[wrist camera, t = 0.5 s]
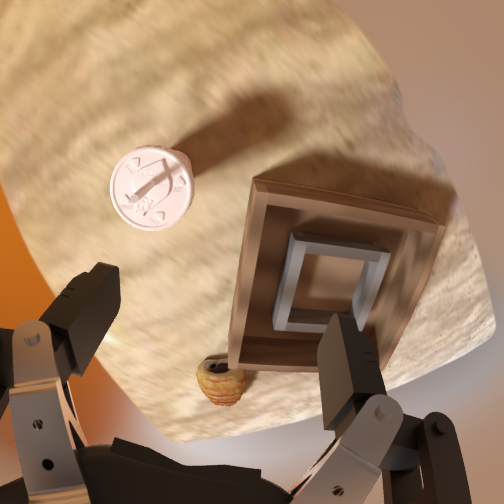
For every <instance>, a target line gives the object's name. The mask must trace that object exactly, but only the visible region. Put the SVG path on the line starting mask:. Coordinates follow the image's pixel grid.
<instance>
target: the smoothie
mask: <svg viewBox="0 0 504 504" xmlns="http://www.w3.org/2000/svg"><path fill="white" fill-rule="evenodd" d="M194 187H195V183H194V178H193V174H192V165H191V161H190V159H189V158H188V156H187V155H186V154H184V153H183V152H181V151H177V150H172V149H170V148H168V147H164V146H161V145H146V146H142V147H138V148H136V149H134V150H133V151H131V152H129V153H128V154H126V155H125V156H124V157H123V158H122V159H121V160H120V161H119V162H118V164H117V165H116V167H115V169H114V171H113V173H112V177H111V181H110V194H111V199H112V202H113V205H114V207H115V209H116V210H117V212H118V213H119V215H120V216H121V217H122V218H123V219H124V220H125V221H126V222H128V223H129V224H131V225H132V226H134V227H136V228H139V229H142V230H148V231H157V230H162V229H166V228H168V227H170V226H172V225H174V224H175V223H177V222H178V221H179V220H180V219H181V218H182V217H183V216H184V215H185V213H186V212H187V210H188V209H189V207H190V206H191V203H192V200H193V197H194Z"/></svg>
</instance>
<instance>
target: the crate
mask: <svg viewBox="0 0 504 504" xmlns="http://www.w3.org/2000/svg"><path fill="white" fill-rule="evenodd" d="M445 228H446V226H444V225H442V224H441V223H439V222H438V221H436V220H435V219H433V218H431V217H430V216H428V215H427V214H425V213H423V212H422V211H420V210H418V209H415V208H411V207H407V206H403V205H398V204H394V203H390V202H385V201H381V200H376V199H371V198H366V197H362V196H357V195H352V194H347V193H342V192H336V191H331V190H326V189H320V188H315V187H309V186H303V185H297V184H291V183H285V182H279V181H272V180H266V179H259V178H252V184H251V190H250V197H249V203H248V209H247V215H246V222H245V228H244V235H243V241H242V247H241V254H240V260H239V267H238V273H237V280H236V287H235V293H234V300H233V307H232V313H231V320H230V327H229V333H228V368H229V369H242V370H257V371H276V372H319V371H318V362H317V350H318V346H319V343H320V341H321V339H322V336H323V334H324V332H325V330H326V328H327V326H328V324H329V322H330V320H331V318H332V316H333V315H334V314H335V313H336V314H342V315H348V316H354V317H355V319H356V322H357V326H358V329H359V331H363V332H365V333H366V335H367V336H368V337H369V339H370V340H371V341H372V344H373V347H374V350H375V355H376V357H377V360H378V363H377V364H379V367H380V371H383V370H384V369H385V367H386V365H387V363H388V361H389V359H390V358H391V356H392V354H393V352H394V350H395V348H396V346H397V344H398V342H399V340H400V338H401V336H402V334H403V332H404V330H405V328H406V326H407V324H408V322H409V319H410V317H411V315H412V313H413V311H414V309H415V306H416V304H417V302H418V299H419V297H420V295H421V292H422V290H423V288H424V285H425V283H426V280H427V278H428V275H429V273H430V270H431V268H432V265H433V262H434V260H435V257H436V254H437V251H438V248H439V246H440V243H441V240H442V237H443V234H444V231H445Z"/></svg>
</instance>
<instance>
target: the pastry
mask: <svg viewBox="0 0 504 504" xmlns="http://www.w3.org/2000/svg"><path fill="white" fill-rule="evenodd" d="M196 375H197V379H198V383H199V386H200V388H201V390H202V392H203V393H204V394H205V395H206V396H207V397H208V398H209V399H210V401H211V402H213V403H214V404H215V405H222V406H224V405H225V406H232V405H234V404H235V403H237V401H238V400H240V398H241V395H242V393H243V390H244V388H245V385H246V382H245V374H244V370H242V369H229V368H228V358H223V359H219V360H205V361H203V362H202V363H201V364H200V365H199V366H198V370H197V373H196Z"/></svg>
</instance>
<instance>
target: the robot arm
mask: <svg viewBox="0 0 504 504" xmlns="http://www.w3.org/2000/svg"><path fill="white" fill-rule="evenodd" d="M120 303H121V295H120V277H119V268H118V267H117V266H114V265H110V264H106V263H102V262H98V263H97V264H96V265H95V266H94V267H93V269H92V270H91V271H90V272H89V273H87V272H83V273H81V274H80V275H78V276H76V277H74V278H73V279H72V280H71V281H70V282H69V284H68V285H67V286H66V288H64V289H63V291H62V292H61V293H60V295H58V297H57V298H56V299H55V300H54V301H53V303H52V304H51V305H50V306H49V308H48V309H47V310H46V311H45V312H44V314H43V315H42V316H41V317H40V319H39V320H30V321H26V322H24V323H22V324H20V325H19V326H18V327H17V328H16V329H15V330H12V329H3V328H0V419H1V417H2V415H3V413H4V411H5V409H6V407H7V405H8V403H9V401H10V409H11V417H12V424H13V430H14V436H15V442H16V447H17V452H18V457H19V461H20V466H21V470H22V474H23V477H21V478H19V479H16V480H14V481H12V482H10V483H8V484H5V485H3V486H0V504H363V502H364V501H365V499H366V498H367V496H368V494H369V493H370V491H371V490H372V488H373V486H374V484H375V483H376V481H377V480H378V478H379V476H380V474H381V472H382V478H383V490H384V504H472V502H471V496H470V491H469V486H468V481H467V476H466V471H465V466H464V462H463V458H462V454H461V450H460V446H459V442H458V439H457V434H456V431H455V427H454V425H453V423H452V421H451V420H450V419H449V418H448V417H447V416H446V415H444V414H442V413H439V412H432V413H430V414H428V415H427V416H426V417H425V418H424V419H420V418H416V417H413V416H410V415H406V414H404V413H403V411H402V408H401V406H400V405H399V404H398V402H396V401H395V400H394V399H393V398H391V397H389V396H387V393H386V389H385V385H384V382H383V378H382V374H381V371H380V367H379V364H377V363H378V360H377V357H376V355H375V350H374V347H373V344H372V341H371V340H370V339H369V337H368V336H367V335H366V333H365V332H363V331H359V329H358V326H357V322H356V319H355V317H354V316H348V315H342V314H336V313H335V314H334V315H333V316H332V318H331V320H330V322H329V324H328V326H327V328H326V330H325V332H324V334H323V336H322V339H321V341H320V343H319V346H318V350H317V362H318V371H319V381H320V390H321V401H322V411H323V422H324V430H333V431H335V435H336V436H335V438H334V439H333V441H332V442H331V443H330V444H329V446H328V447H327V448H326V449H325V451H324V452H323V453H322V454H321V455H320V457H319V458H318V459H317V460H316V461H315V463H314V464H313V465H312V466H311V468H310V469H309V470H308V471H307V472H306V473H305V474H304V475H303V477H302V478H301V479H300V480H299V481H298V482H297V483H296V484H295V485H294V486H293V487H292V488H291V489H290V490H289V491H288V492H287V491H285V490H284V489H283V488H281V487H280V486H278V485H276V484H274V483H272V482H270V481H268V480H266V479H263V478H261V469H252V468H243V467H237V466H230V465H207V466H186V465H182V464H180V463H178V462H175V461H173V460H172V459H170V458H168V457H166V456H164V455H162V454H160V453H158V452H156V451H154V450H152V449H150V448H148V447H144V446H141V445H138V444H135V443H131V442H128V441H125V440H122V439H119V438H116V437H115V438H114V441H113V444H112V445H108V444H106V445H103V444H102V445H101V444H100V445H92V446H88V444H87V442H86V439H85V437H84V435H83V432H82V430H81V427H80V424H79V421H78V417H77V414H76V410H75V406H74V403H73V399H72V395H71V391H70V387H69V383H68V379H69V377H70V375H71V373H72V374H75V375H77V376H80V377H82V376H83V374H84V372H85V370H86V368H87V366H88V365H89V363H90V361H91V359H92V357H93V355H94V354H95V352H96V350H97V348H98V347H99V345H100V343H101V341H102V340H103V338H104V336H105V334H106V333H107V331H108V329H109V328H110V326H111V324H112V322H113V321H114V319H115V317H116V316H117V314H118V311H119V308H120ZM420 466H421V471H422V478H423V485H424V488H423V487H422V480H421V474H420ZM381 468H382V469H381Z"/></svg>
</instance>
